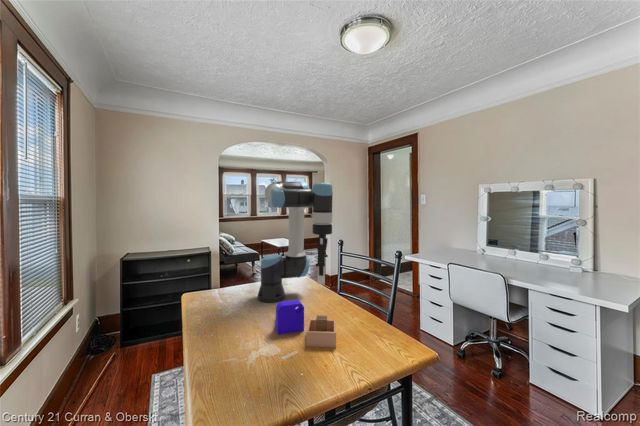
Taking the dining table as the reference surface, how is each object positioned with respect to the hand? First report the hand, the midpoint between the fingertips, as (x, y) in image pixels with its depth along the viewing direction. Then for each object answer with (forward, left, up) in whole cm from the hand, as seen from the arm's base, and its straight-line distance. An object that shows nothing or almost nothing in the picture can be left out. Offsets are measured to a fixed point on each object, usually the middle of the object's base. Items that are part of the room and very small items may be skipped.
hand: (321, 278), depth 104 cm
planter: (0, 0, -24) cm, 24 cm away
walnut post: (0, 0, -23) cm, 23 cm away
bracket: (-13, -16, -24) cm, 32 cm away
